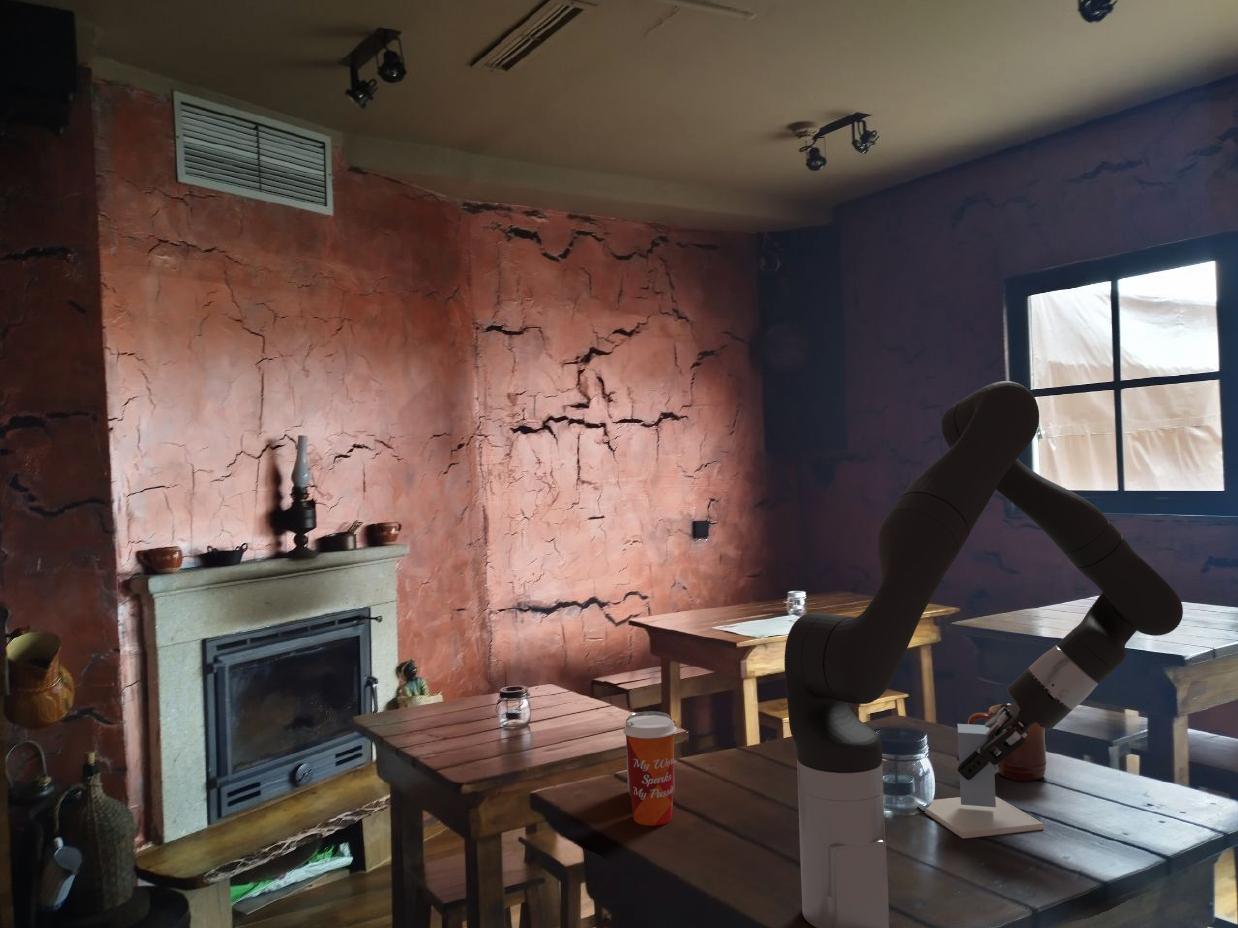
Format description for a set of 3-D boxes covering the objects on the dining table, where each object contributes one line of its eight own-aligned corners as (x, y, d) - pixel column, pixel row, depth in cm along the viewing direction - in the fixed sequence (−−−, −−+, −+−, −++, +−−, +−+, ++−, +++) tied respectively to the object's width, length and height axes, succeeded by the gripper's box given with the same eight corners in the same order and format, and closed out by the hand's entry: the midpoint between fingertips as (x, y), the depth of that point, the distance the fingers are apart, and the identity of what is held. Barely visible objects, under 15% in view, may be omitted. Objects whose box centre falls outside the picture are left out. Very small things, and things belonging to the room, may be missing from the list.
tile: (1043, 829, 124) (1043, 823, 124) (962, 838, 122) (962, 832, 122) (991, 799, 136) (991, 793, 136) (917, 806, 134) (916, 801, 134)
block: (995, 807, 126) (992, 734, 126) (960, 804, 128) (958, 732, 128) (994, 796, 130) (991, 725, 131) (960, 793, 132) (957, 723, 132)
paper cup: (635, 831, 128) (632, 730, 128) (619, 812, 135) (616, 717, 135) (688, 824, 130) (684, 724, 130) (669, 806, 137) (666, 712, 138)
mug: (1046, 768, 149) (1044, 704, 149) (1055, 786, 141) (1053, 719, 141) (967, 763, 152) (965, 701, 153) (971, 781, 144) (969, 715, 144)
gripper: (1025, 656, 134) (941, 734, 137) (1035, 678, 120) (941, 764, 124) (1067, 694, 132) (980, 773, 136) (1082, 720, 118) (985, 807, 122)
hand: (962, 768), depth 130 cm, fingers closed on block, 4 cm apart
